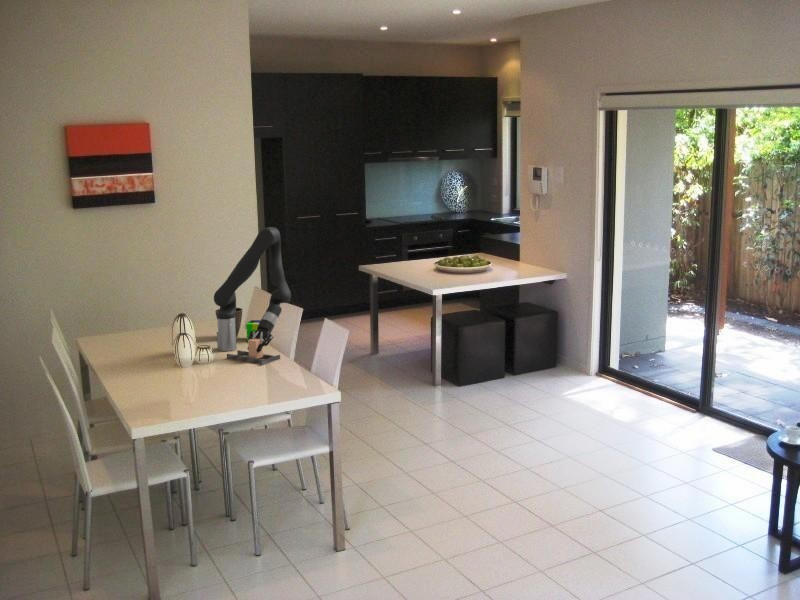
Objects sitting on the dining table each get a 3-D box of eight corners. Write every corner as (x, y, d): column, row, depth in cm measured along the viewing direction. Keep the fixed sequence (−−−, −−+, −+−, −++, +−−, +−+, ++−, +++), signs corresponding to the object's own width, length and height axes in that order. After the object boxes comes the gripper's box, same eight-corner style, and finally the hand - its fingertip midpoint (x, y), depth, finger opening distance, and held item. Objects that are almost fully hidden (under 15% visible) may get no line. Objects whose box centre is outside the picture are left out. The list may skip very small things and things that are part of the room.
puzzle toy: (269, 337, 473) (268, 320, 471) (264, 341, 463) (264, 324, 462) (252, 337, 474) (251, 320, 472) (247, 341, 464) (246, 324, 463)
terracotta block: (248, 357, 419) (248, 340, 417) (255, 355, 423) (254, 338, 421) (256, 358, 416) (255, 341, 414) (263, 356, 420) (262, 339, 419)
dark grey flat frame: (223, 362, 422) (223, 355, 421) (242, 355, 434) (241, 349, 433) (262, 368, 409) (262, 361, 409) (280, 361, 421) (280, 355, 421)
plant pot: (213, 340, 468) (211, 312, 465) (222, 334, 482) (220, 307, 479) (238, 341, 466) (237, 312, 463) (247, 334, 480) (245, 307, 477)
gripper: (253, 317, 426) (238, 345, 418) (275, 320, 419) (260, 348, 411) (260, 325, 431) (246, 353, 424) (282, 328, 424) (268, 356, 416)
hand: (253, 350), depth 417 cm, fingers closed on terracotta block, 5 cm apart
